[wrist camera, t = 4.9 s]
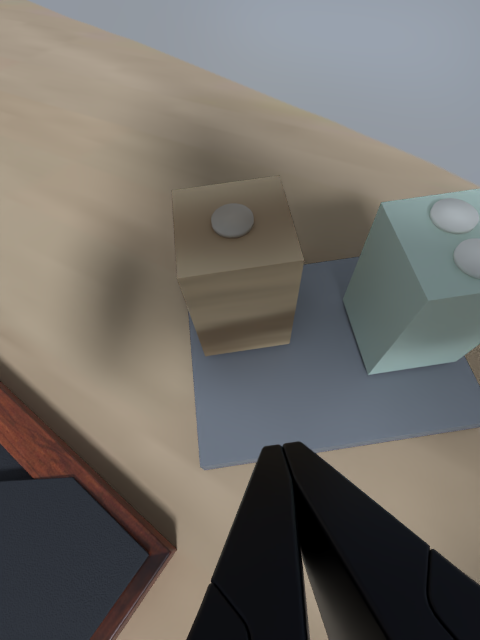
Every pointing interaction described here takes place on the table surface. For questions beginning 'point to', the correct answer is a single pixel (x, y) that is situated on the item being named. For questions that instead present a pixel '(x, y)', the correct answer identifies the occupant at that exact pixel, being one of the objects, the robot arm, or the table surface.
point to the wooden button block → (237, 263)
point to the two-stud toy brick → (418, 283)
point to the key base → (320, 386)
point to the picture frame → (66, 539)
